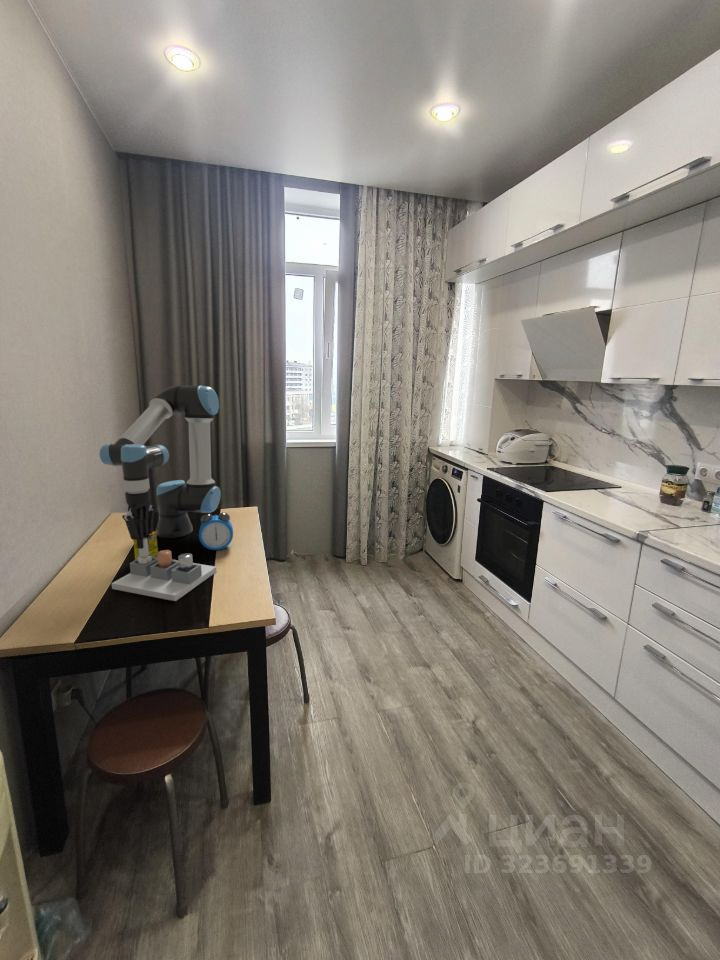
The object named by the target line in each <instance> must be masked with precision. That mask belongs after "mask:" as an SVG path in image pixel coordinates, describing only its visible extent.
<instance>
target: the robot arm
mask: <svg viewBox="0 0 720 960" xmlns="http://www.w3.org/2000/svg"><path fill="white" fill-rule="evenodd" d="M219 400H220V399H219V397H218V395H217V393H216V391H215V390H214V388H213V387H210V386H204V385H180V384H179V385H173V386H170V387H168V388H165V389H164V390H161V392H159V393H157V394H156V395H155V396H154V397H152V399H151V400H150V401H149V403H148V407H147V408H146V409H145V410H144V411H143V412H142V414H140V416H138V418H137V419H136V420H135V421H134V422H133V423H132V424H130V426H129V427H128V429H126V431H124V433H123V434H122V435H121V436H119V438H118V439H117V440H116V441H115V442H114V443H108V444H107V443H105V444H103V445H102V446H101V448H100V449H99V458H100V461H101V462H102V463H103V464H104V465H108V466H114V467H118V466H119V467H122V473H123V485H124V486H123V487H124V491H125V493H124V495H125V503H126V504H127V505H128V508H127V513H126V514H123V515H122V517H121V518H122V519H123V520H124V522H125V524H126V527H127V530H128V535H129V536H130V539H131V540H133V539H134V540H137V547H138V548H139V556H142V557H147V556H149V550H148V545H149V540H148V538H150V537H151V535H150V534H152V533H153V531H154V519H155V512H156V508H157V509H158V520H157V524H156V528H155V532H156V536H157V537H159V538H162V539H163V538H164V539H176V538H180V537H184V536H187V535H190V534H191V533H192V532H193V530H194V529H193V523H192V522H191V520H190V517H189V514H188V512H190V513H202V514H211V513H213V512H215V510H216V509H217V508H218V507H219V504H220V501H221V495H222V493H221V489H220V487H218V486H216V481H215V480H214V479H213V478H212V451H211V450H212V449H211V447H212V446H211V422H212V421H213V420H214V418H215V417H214V416H215V415H217V414H218V412H219V409H220V403H219V402H220V401H219ZM175 414H184V415H183V416H184V419H185V420H186V421H187V422H188V446H189V449H188V450H189V453H188V454H189V479H188V480H187V481H186V482H185V480H183V479H178V480H170V481H169V480H168V481H165V482H162V483H160V484H158V485H157V487H156V498H157V500H156V501H157V506H156V505H152V504H151V502H150V501H151V500H152V498H151V491H150V489H151V486H150V485H151V484H150V478H149V477H150V476H149V470H151V469H154V468H158V467H162V466H163V465H164V464H165V465H166V463H168V461H169V458H170V452H169V450H168V448H166V446H164V445H162V444H153V445H145V444H146V442H147V441H148V440H149V438H151V436H152V435H153V434H154V433H155V431H156V430H157V429H158V428H159V427H160V425H162V423H163V422H165V420H167V419H169V418H171V417H172V416H174V415H175Z"/></svg>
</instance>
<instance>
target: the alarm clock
mask: <svg viewBox="0 0 720 960" xmlns="http://www.w3.org/2000/svg"><path fill="white" fill-rule="evenodd" d="M200 523H201V524H200V527H199V532H198V539H199V542H200V543H201V545H202V546H203V547H204V548H206V549H208V551H210V550H212V551H220V550H224V549H225V550H227V547H228V546H229V545H230V544H231V542H232V541H233V538H234V527H233V524H232V523H231V517H230V515H229V513H227V512H220V513H219V514H218V515H217V514H213V515H212V514H211V513H203V515H202V516H201V517H200Z"/></svg>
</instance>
